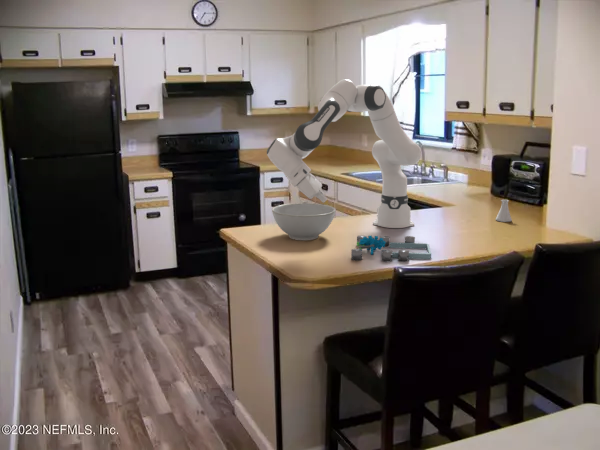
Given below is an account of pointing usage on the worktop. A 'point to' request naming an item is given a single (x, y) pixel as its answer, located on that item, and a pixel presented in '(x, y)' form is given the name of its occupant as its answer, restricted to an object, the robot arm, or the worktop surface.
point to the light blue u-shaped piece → (412, 245)
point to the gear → (371, 243)
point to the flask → (504, 212)
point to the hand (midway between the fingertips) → (325, 200)
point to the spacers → (385, 254)
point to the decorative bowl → (303, 219)
